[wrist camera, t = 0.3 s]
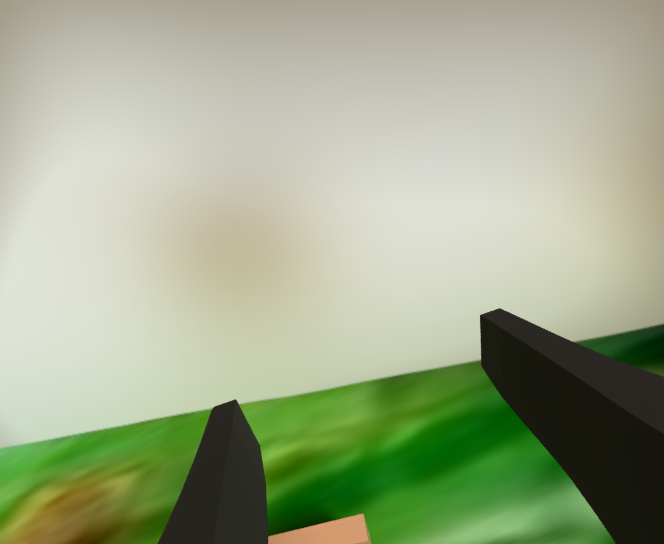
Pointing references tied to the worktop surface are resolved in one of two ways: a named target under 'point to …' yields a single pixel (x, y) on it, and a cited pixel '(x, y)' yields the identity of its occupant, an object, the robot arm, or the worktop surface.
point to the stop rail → (328, 533)
